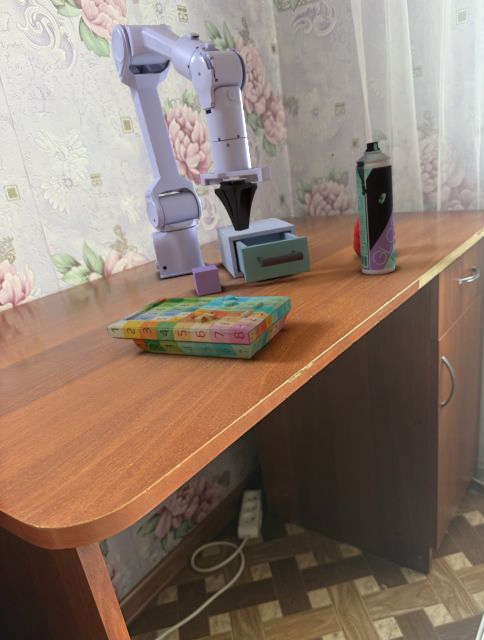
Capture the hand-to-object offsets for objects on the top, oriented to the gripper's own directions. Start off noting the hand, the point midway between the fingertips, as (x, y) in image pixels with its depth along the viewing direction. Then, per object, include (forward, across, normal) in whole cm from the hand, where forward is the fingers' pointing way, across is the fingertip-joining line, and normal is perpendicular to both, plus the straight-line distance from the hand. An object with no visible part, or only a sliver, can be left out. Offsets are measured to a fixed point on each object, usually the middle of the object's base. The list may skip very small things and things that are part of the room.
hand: (242, 229), depth 81 cm
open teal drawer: (+9, -1, +6) cm, 11 cm away
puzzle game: (+10, +13, -21) cm, 26 cm away
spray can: (+10, +16, +15) cm, 24 cm away
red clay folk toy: (+10, +9, +24) cm, 27 cm away
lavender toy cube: (+10, -6, -4) cm, 12 cm away
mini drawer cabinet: (+10, -11, +12) cm, 19 cm away
